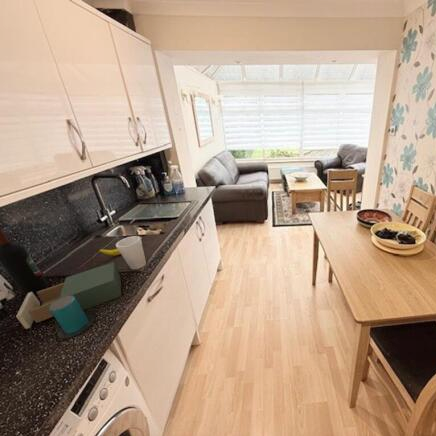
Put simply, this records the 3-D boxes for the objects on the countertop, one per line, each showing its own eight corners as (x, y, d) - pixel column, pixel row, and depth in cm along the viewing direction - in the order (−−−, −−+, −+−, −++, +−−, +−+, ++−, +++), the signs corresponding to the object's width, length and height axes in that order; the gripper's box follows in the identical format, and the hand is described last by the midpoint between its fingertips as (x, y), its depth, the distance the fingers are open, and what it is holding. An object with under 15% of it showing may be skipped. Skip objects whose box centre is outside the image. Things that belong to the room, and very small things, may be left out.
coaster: (55, 344, 74) (54, 343, 74) (60, 323, 82) (60, 322, 82) (94, 328, 79) (93, 327, 79) (96, 309, 87) (95, 308, 87)
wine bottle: (22, 292, 99) (-24, 228, 86) (46, 281, 104) (6, 220, 92) (26, 298, 95) (-22, 233, 82) (51, 287, 100) (9, 224, 87)
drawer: (20, 331, 79) (10, 318, 76) (32, 306, 89) (23, 294, 87) (80, 308, 87) (72, 296, 84) (84, 288, 97) (77, 276, 94)
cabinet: (69, 315, 85) (58, 299, 82) (75, 292, 96) (65, 277, 93) (121, 295, 92) (113, 280, 89) (120, 276, 104) (113, 261, 100)
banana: (145, 246, 126) (141, 235, 124) (103, 261, 116) (97, 250, 113) (144, 244, 128) (140, 234, 126) (102, 259, 118) (97, 248, 115)
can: (62, 336, 76) (46, 313, 72) (66, 323, 81) (50, 301, 77) (87, 326, 79) (73, 303, 75) (89, 314, 84) (75, 292, 80)
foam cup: (145, 269, 107) (134, 245, 101) (123, 273, 106) (111, 248, 100) (152, 257, 116) (143, 234, 110) (132, 260, 114) (122, 237, 109)
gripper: (5, 258, 79) (36, 299, 87) (-63, 278, 72) (-22, 320, 80) (-3, 269, 73) (31, 312, 82) (-79, 292, 66) (-33, 336, 74)
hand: (4, 316), depth 81 cm, fingers closed
